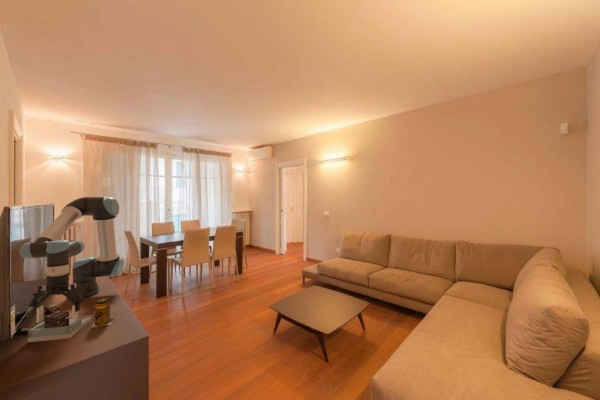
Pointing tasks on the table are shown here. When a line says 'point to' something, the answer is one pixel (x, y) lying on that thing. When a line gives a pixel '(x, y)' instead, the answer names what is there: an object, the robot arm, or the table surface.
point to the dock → (58, 330)
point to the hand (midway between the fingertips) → (57, 319)
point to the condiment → (102, 313)
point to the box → (57, 319)
